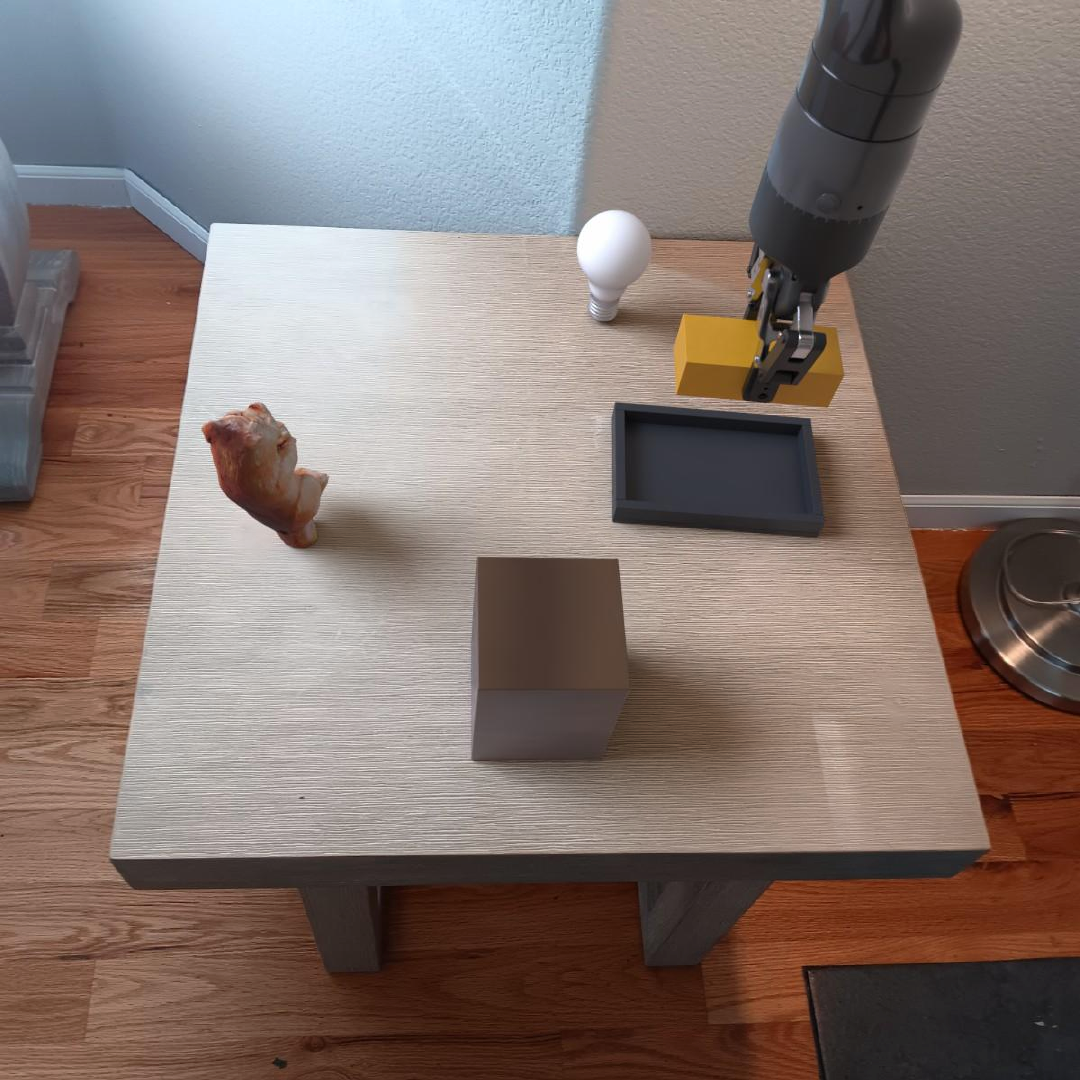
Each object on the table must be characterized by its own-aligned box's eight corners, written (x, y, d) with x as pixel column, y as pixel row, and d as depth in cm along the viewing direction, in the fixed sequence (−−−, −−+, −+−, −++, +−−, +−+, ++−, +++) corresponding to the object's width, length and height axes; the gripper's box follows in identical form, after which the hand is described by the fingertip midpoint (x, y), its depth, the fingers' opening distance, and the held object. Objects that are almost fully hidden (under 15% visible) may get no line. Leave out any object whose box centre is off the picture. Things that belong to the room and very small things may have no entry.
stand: (593, 642, 74) (618, 558, 64) (602, 759, 69) (630, 689, 59) (471, 641, 73) (476, 556, 63) (471, 760, 69) (477, 689, 58)
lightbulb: (592, 351, 89) (611, 256, 80) (553, 305, 92) (566, 208, 83) (649, 326, 92) (673, 230, 82) (609, 281, 94) (628, 184, 85)
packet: (820, 360, 74) (836, 327, 71) (827, 408, 72) (844, 375, 69) (673, 348, 74) (683, 313, 71) (675, 395, 71) (686, 361, 68)
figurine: (339, 499, 79) (321, 371, 66) (309, 582, 75) (283, 461, 62) (263, 483, 79) (229, 352, 66) (229, 565, 75) (186, 441, 62)
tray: (817, 537, 81) (825, 523, 79) (611, 522, 80) (615, 507, 78) (802, 433, 86) (810, 418, 85) (611, 417, 86) (615, 401, 84)
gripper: (916, 265, 54) (815, 455, 69) (878, 101, 62) (794, 303, 76) (779, 252, 54) (706, 446, 68) (758, 89, 61) (696, 294, 76)
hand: (753, 369), depth 72 cm, fingers closed on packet, 4 cm apart
